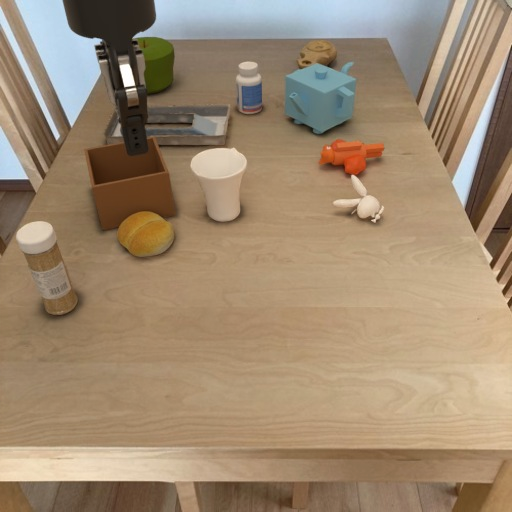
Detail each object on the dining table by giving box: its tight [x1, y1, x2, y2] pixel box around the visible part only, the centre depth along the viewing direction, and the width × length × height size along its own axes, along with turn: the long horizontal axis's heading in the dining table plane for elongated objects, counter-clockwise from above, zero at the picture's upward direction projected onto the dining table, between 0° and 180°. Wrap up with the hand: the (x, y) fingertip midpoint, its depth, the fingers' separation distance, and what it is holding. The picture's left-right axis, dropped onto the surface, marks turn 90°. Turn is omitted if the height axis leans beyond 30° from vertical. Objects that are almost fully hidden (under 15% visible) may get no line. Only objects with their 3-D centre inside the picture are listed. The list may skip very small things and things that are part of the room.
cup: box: [190, 147, 248, 223], centre depth 90 cm, size 9×9×10 cm
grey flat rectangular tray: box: [102, 103, 232, 146], centre depth 113 cm, size 13×25×3 cm, turn 89°
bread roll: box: [116, 211, 175, 258], centre depth 87 cm, size 8×9×4 cm
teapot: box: [284, 61, 358, 135], centre depth 112 cm, size 16×18×11 cm
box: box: [83, 136, 176, 231], centre depth 93 cm, size 12×12×8 cm
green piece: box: [132, 36, 176, 95], centre depth 126 cm, size 12×12×11 cm
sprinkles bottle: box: [15, 220, 79, 316], centre depth 73 cm, size 5×5×13 cm
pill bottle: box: [235, 61, 263, 115], centre depth 117 cm, size 6×5×10 cm
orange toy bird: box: [318, 138, 385, 176], centre depth 101 cm, size 5×8×12 cm
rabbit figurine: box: [332, 174, 385, 224], centre depth 91 cm, size 6×4×8 cm
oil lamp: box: [296, 39, 338, 69], centre depth 134 cm, size 11×14×5 cm
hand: (137, 151), depth 57 cm, fingers closed
